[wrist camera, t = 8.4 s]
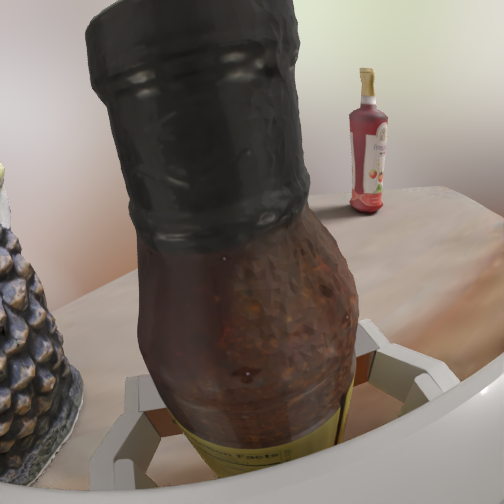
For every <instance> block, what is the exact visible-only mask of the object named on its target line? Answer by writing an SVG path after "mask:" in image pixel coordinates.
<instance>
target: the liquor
mask: <svg viewBox="0 0 504 504" xmlns="http://www.w3.org/2000/svg"><path fill="white" fill-rule="evenodd" d="M360 78H361V82H362V92H361V107H360V108H359V109H357V110H354V111H353V112H352V113H351V114H349V119H350V138H351V153H352V154H351V155H352V198H351V200H350V204H351V205H352V206H353V207H354V208H355V209H356V210H357V211H359V212H362V213H374V212H376V211H377V210H378V209H380V208H381V207H382V206H383V203H382V201H381V195H382V183H383V172H384V162H385V152H386V141H387V140H386V139H387V121H388V117H387V116H386V115H385V114H384V113H383V112H381V111H379V110H377V109H376V102H375V93H374V69H371V68H360Z"/></svg>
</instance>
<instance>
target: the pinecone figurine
mask: <svg viewBox="0 0 504 504" xmlns="http://www.w3.org/2000/svg"><path fill="white" fill-rule="evenodd" d="M4 169H5V168H4V167H3V165H2V164H1V163H0V482H3V483H9V484H15V485H22V486H30V485H31V484H32V483H33V482H35V480H36V479H37V478H38V477H39V476H40V475H41V474H42V472H43V471H44V470H45V468H46V467H47V466H48V465H49V463H50V462H51V460H52V458H55V453H56V452H57V451H59V450H60V448H61V446H62V444H63V443H64V442H66V441H67V440H68V438H69V437H70V435H71V433H72V431H73V428H74V425H75V422H76V421H77V420H78V415H79V410H80V409H81V407H82V404H83V380H82V378H81V375H80V373H79V371H78V370H77V369H76V368H74V367H73V366H72V365H70V364H69V362H68V359H67V358H66V357H65V356H64V351H63V347H62V345H63V335H62V334H61V333H60V332H59V331H58V330H57V326H56V324H55V318H54V317H53V315H52V314H51V313H50V312H49V310H48V309H47V303H46V297H45V294H44V290H43V286H42V284H41V281H40V279H39V278H38V276H37V274H36V273H35V271H34V269H33V268H32V266H31V264H30V263H29V262H28V261H27V260H26V259H25V258H24V257H23V256H22V255H21V246H20V243H19V240H18V238H17V237H16V236H15V235H14V234H13V233H12V232H11V210H10V207H9V203H8V199H7V195H6V192H5V188H4V183H3V182H4Z"/></svg>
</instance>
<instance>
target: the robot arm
mask: <svg viewBox="0 0 504 504" xmlns="http://www.w3.org/2000/svg"><path fill="white" fill-rule="evenodd" d="M354 347H355V352H356V370H355V377H354V383H353V387H354V386H357V385H359V384H362V383H365V382H367V381H368V383H370V384H372V385H373V386H375V387H377V388H379V389H380V390H382V391H384V392H386V393H387V394H389V395H391V396H393V397H395V398H396V399H398V400H400V401H402V402H404V404H403V406H402V408H401V410H400V413H399V415H398V416H399V418H397V419H395V420H393V421H391V422H389V423H387V424H385V425H382V426H380V427H378V428H376V429H374V430H372V431H369V432H367V433H365V434H362V435H360V436H358V437H355V438H353V439H350V440H348V441H346V442H343V443H340V444H338V445H335V446H333V447H330V448H327V449H325V450H322V451H319V452H316V453H313V454H310V455H307V456H304V457H301V458H298V459H295V460H292V461H288V462H285V463H282V464H278V465H275V466H271V467H268V468H264V469H260V470H256V471H252V472H248V473H244V474H239V475H235V476H230V477H225V478H220V479H215V480H210V481H204V482H198V483H191V484H184V485H177V486H169V487H160V488H158V485H157V484H155V483H154V482H153V481H152V480H151V479H150V478H149V477H148V476H147V475H146V474H145V473H146V470H147V468H148V466H149V464H150V462H151V460H152V458H153V455H154V453H155V451H156V449H157V447H158V445H159V443H160V441H161V437H167V436H172V435H178V434H183V431H182V430H181V428H180V427H179V425H178V424H177V422H176V421H175V419H174V418H173V416H172V415H171V413H170V412H169V410H168V409H167V407H166V406H165V404H164V402H163V401H162V399H161V397H160V395H159V393H158V391H157V389H156V387H155V385H154V382H153V380H152V378H151V375H150V374H148V375H141V376H135V377H127V378H126V381H125V414H122V415H120V417H119V418H118V420H117V421H116V423H115V424H114V425H113V427H112V428H111V430H110V431H109V433H108V434H107V436H106V437H105V438H104V440H103V441H102V443H101V444H100V446H99V447H98V449H97V450H96V451H95V453H94V454H93V456H92V457H91V459H90V475H89V491H86V490H62V489H49V488H38V487H30V486H22V485H15V484H9V483H3V482H0V504H504V352H503V353H502V354H501V355H499V356H498V357H497V358H495V359H494V360H493V361H491V362H490V363H489V364H487V365H486V366H484V367H483V368H481V369H480V370H479V371H477V372H476V373H474V374H473V375H471V376H470V377H468V378H467V379H465V380H464V381H462V382H460V381H459V379H458V378H457V377H456V376H455V375H454V373H453V372H452V371H451V370H450V369H449V368H448V366H447V365H446V364H445V363H444V362H443V361H440V360H437V359H434V358H432V357H429V356H426V355H424V354H421V353H419V352H416V351H413V350H411V349H408V348H405V347H403V346H400V345H398V344H395V343H393V344H390V342H389V341H388V340H387V339H386V338H385V336H384V335H383V334H382V333H381V332H380V330H379V329H378V328H377V327H376V326H375V324H374V323H373V322H372V321H371V320H370V319H368V318H367V319H364V320H361V321H359V322H358V326H357V333H356V342H355V346H354Z"/></svg>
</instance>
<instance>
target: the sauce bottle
mask: <svg viewBox="0 0 504 504" xmlns="http://www.w3.org/2000/svg"><path fill="white" fill-rule="evenodd" d="M297 26H298V22H297V19H296V17H295V13H294V5H293V0H118V1H117V2H115V3H113V4H112V5H110V6H109V7H107V8H105V9H104V10H103V11H101V12H100V14H98V15H97V16H95V17H93V19H92V20H91V21H90V24H89V26H88V27H87V29H86V32H85V40H86V46H87V56H88V66H89V73H90V81H91V86H92V89H93V90H94V91H95V92H96V94H97V96H98V97H99V98H100V99H101V101H102V102H103V103H104V104H105V105H106V107H107V110H108V115H109V120H110V126H111V130H112V135H113V138H114V142H115V145H116V149H117V153H118V157H119V160H120V164H121V170H122V173H123V177H124V180H125V184H126V189H127V192H128V195H129V198H130V201H129V207H128V208H129V215H130V217H131V220H132V222H133V224H134V226H135V229H136V233H137V252H138V254H137V255H138V278H139V317H138V327H137V337H138V344H139V348H140V351H141V354H142V356H143V359H144V361H145V364H146V366H147V368H148V371H149V373H150V375H151V378H152V380H153V382H154V385H155V387H156V389H157V391H158V393H159V395H160V397H161V399H162V401H163V402H164V404H165V406H166V407H167V409H168V410H169V412H170V413H171V415H172V416H173V418H174V419H175V421H176V422H177V424H178V425H179V427H180V428H181V430H182V431H183V433H184V434H185V435H186V437H187V438H188V440H189V441H190V442H191V444H192V445H193V447H194V448H195V449H196V451H197V452H198V453H199V454H200V456H201V457H202V458H203V460H204V461H205V462H206V463H207V464H208V466H209V467H210V468H211V469H212V471H213V472H214V473H215V474H216V475H217V476H218V477H219V479H220V478H225V477H230V476H235V475H239V474H244V473H248V472H252V471H256V470H260V469H264V468H268V467H271V466H275V465H278V464H282V463H285V462H288V461H292V460H295V459H298V458H301V457H304V456H307V455H310V454H313V453H316V452H319V451H322V450H325V449H327V448H330V447H333V446H335V445H338V444H340V443H342V440H343V435H344V431H345V426H346V421H347V416H348V411H349V406H350V401H351V395H352V389H353V383H354V377H355V370H356V352H355V347H354V346H355V342H356V333H357V326H358V317H359V308H358V294H357V291H356V286H355V282H354V277H353V275H352V273H351V272H350V270H349V269H348V265H347V262H346V259H345V258H344V257H343V255H342V254H341V252H340V250H339V248H338V245H337V242H336V240H335V239H334V237H333V236H332V235H331V234H330V233H329V231H328V230H327V228H326V227H325V226H323V224H322V223H321V222H320V221H319V220H318V219H317V218H316V217H315V215H314V213H313V212H312V210H310V209H309V205H308V201H307V199H308V193H309V187H310V176H309V174H308V172H307V169H306V167H305V165H304V159H303V149H302V136H301V124H300V119H299V109H298V95H297V91H296V85H295V63H296V61H297V58H298V51H299V47H300V40H299V36H298V30H297V28H298V27H297Z"/></svg>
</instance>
